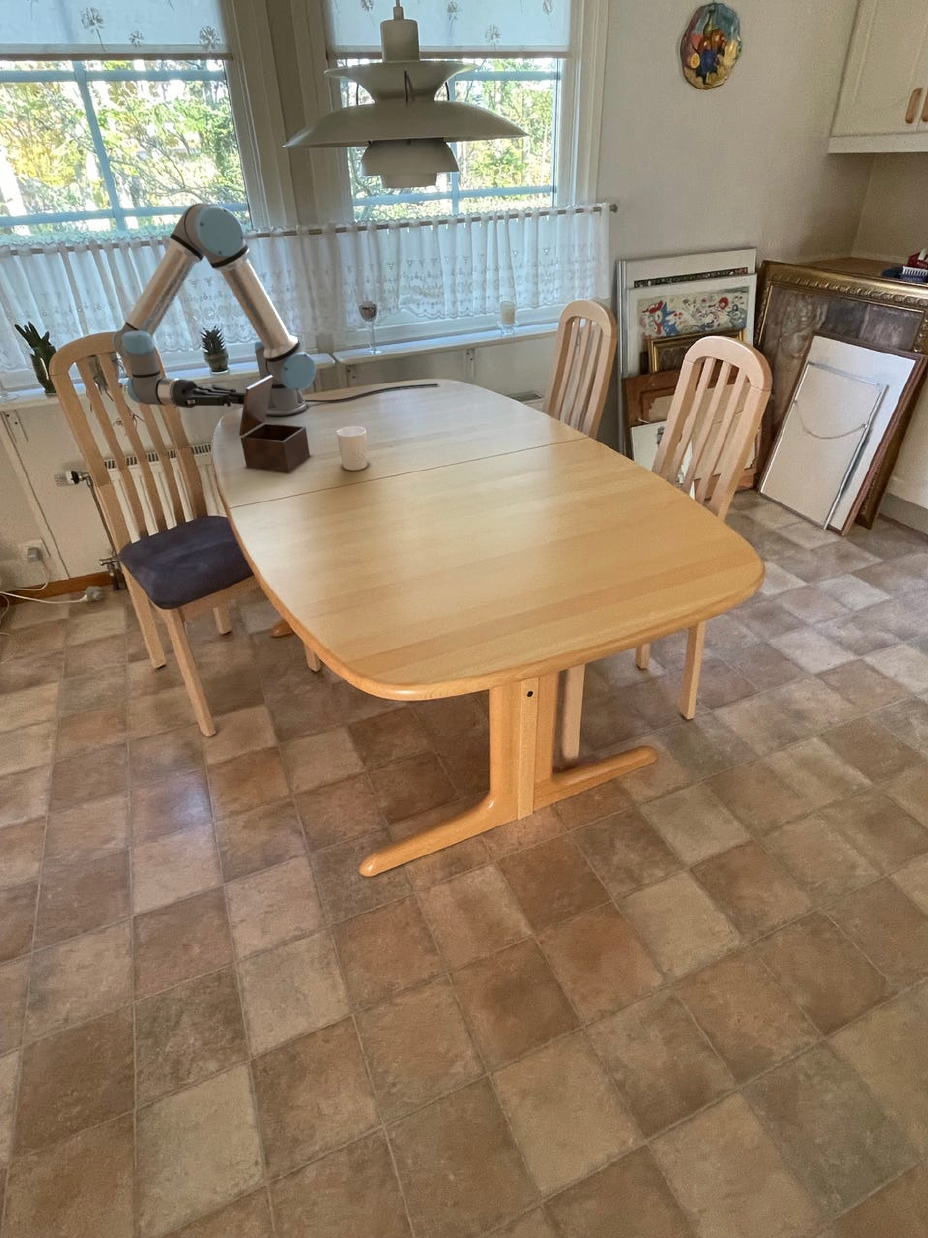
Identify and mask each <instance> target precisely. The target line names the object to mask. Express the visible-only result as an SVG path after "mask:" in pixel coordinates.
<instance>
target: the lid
mask: <svg viewBox="0 0 928 1238" xmlns="http://www.w3.org/2000/svg"><path fill="white" fill-rule="evenodd" d="M272 380H273V376H272V375H270V376H268V377H266V378H264V379H262V380H261V379H260V380H258V381H257V382H255V383H253V384H251V385H248V386H247V387H246V388H245V392H244V393H245V399H244V405H242V411H241V417H240V418H241V419H240V426H239V432H238V436H239V437H240V438H241V437H243V436H244V435H246V434H247V433H249V432H251V431H252V430H254V429H255V428H257V427H259V426H260V425H262V424H263V423H266V419H267V415H266V414H267V408H268V402H269V397H270V391H271V386H272Z"/></svg>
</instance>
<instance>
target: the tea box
mask: <svg viewBox="0 0 928 1238" xmlns="http://www.w3.org/2000/svg"><path fill="white" fill-rule="evenodd" d="M240 442H241V443H240V444H241V447H242V452H243V457H244V462H245V466H246V468H247V469H255V470H265V471H271V472H281V473H290V472H292V471H293V470H294V469H295V468H297V467H298V466H299V465H301V464H302V463H303V462H305V461H306V460H307V459H309V458H310V457H311V453H310V446H309V439H308V433H307V426H300V425H299V426H298V425H290V424H289V425H288V424H279V423H270V422H269V423H267V422H264V423H263V424H261V425H259V426H258V427H256V428H254V429H253V430H251V431H250V432H248V433H246V434H245V435H243V436H242V437H241V436H240Z"/></svg>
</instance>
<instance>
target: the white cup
mask: <svg viewBox="0 0 928 1238" xmlns="http://www.w3.org/2000/svg"><path fill="white" fill-rule="evenodd" d="M336 435H337V436H336V437H337V442H338V448H339V454H340V458H341V461H342V467H343V469H345V470H347V471H360V470H364V469H365V468H367V467H368V443H367V441H368V440H367V430H366V429H365V428H364V427H361V426H355V425H354V426H346V427H342V428H339V429H338V430H337V431H336Z"/></svg>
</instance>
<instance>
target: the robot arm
mask: <svg viewBox="0 0 928 1238" xmlns="http://www.w3.org/2000/svg"><path fill="white" fill-rule="evenodd" d="M168 241H169V246H168V248H167V250H166V252H165V254H164V255H163V256H162V258H161V260H160V262H159V264H158V266H157V267H156V268H155V271H154V273H153V274H152V276H151V278H150V280H149V281H148V283H147V285H146V286H145V288H144V289H143V291H142V293H141V295H140V297H139V299H138V301H137V302H136V303H135V306H134V307H133V309H132V310H131V312H130V314H129V315H128V318H127V319H126V321H125V323H124V325H122V328H121V329H119V330H117V331H116V332H114V334H113V336H112V346H113V348H114V349H115V351H116V352H117V354H118V355H119V356H120V357H122V358H123V359H125V361H127V363H128V366H129V369H130V373H131V377H129V378H128V380H127V383H126V385H127V388H126V391H127V394H128V397H129V398H130V399H131V400H132V401H133V402H135V403H138V404H145V405H148V406H149V405H151V406H152V405H153V406H165V407H172V408H173V409H177V408H186V409H193V408H195V407H224V406H225V405H226V406H227V408H229V407H232V404H233V405H242V406H243V405H244V399H245V392H237V389H235V388H231V387H225V386H220V385H217V384H213V383H212V384H211V386H210V387H206V386H204V385H199V386H198V384H196V383H195V382H194V381H193V380H191V379H182V378H181V379H180V378H173V377H172V378H171V377H170V378H168V377H162V373H161V368H160V365H159V360H158V357H157V353H156V350H155V343H154V342H153V336H154V334H155V333H156V332H157V330H158V328H159V326H160V325H161V323H162V321H163V319H164V318H165V316H166V314H167V313H168V311H169V309H170V307H171V306H172V304H173V302H174V301H175V299H176V297H177V296H178V294H179V292H180V291H181V289H182V287H183V286H184V284H185V283H186V280H187V278H188V277H189V275H190V274H191V272H192V270H193V268H194V267H195V265H196V264H200V263H201V262H203V259H204V258H206V260H207V262H208V264H209V265H210V266H211V268H212V269H213V270H216V271H218V272H220V273H221V275H222V277H223V278H224V280H225V282H226V284H227V285H228V287H229V289H230V290H231V292H232V294H233V295H234V297H235V299H236V300H237V302H238V305H239V306H240V308H241V309H242V311H243V312H244V314H245V316H246V318H247V320H248V321H249V323H250V325H251V326H252V329H253V330H254V332H255V333H256V335H257V337H258V338H259V339H258V340H256V341H255V343H254V353H255V356H256V362H257V367H258V373H259V378H260V380H262V379H264V378H266V377H268V376H270V375H272V376H273V380H272V386H271V391H270V397H269V402H268V408H267V414H266V416H270V417H271V416H272V417H286V416H293V415H296V414H299V413H301V412H304V410H306V409H307V403H332V402H333V403H334V402H343V401H348V400H352V399H357V398H360V397H362V396H367V395H369V394H375V393H378V392H384V391H390V390H397V389H408V388H417V387H431V386H432V387H433V386H438V385H439V384H438V382H436V383H423V384H422V383H420V384H408V385H399V386H390V387H384V388H381V389H374V390H370V391H367V392H363V393H362V392H361V393H359V394H358V393H357V394H355V395H352V396H349V397H342V398H336V399H335V398H334V399H305V397H304V395H303V392H302V391H303V390H305V389H307V388H309V387H310V386H311V385H312V384H313V382H314V380H315V379H316V375H317V365H316V362H315V360H314V358H313V357H312V356H311V355H310V354H309V353H307V352H305V349H304V348H303V346H302V345H301V342H300V341H299V338H298V337H297V336H295V335H293V334H290V333H289V331H288V329H287V327H286V325H285V323H284V321H283V320H282V317H281V316H280V314H279V312H278V310H277V309H276V306H275V305H274V304H273V301H272V299H271V298H270V296H269V294H268V292H267V290H266V287H264V285H263V283H262V282H261V280H260V278H259V277H260V276H259V275H258V273H257V272H256V270H255V268H254V266H253V265H252V262H251V261H250V259H249V257H248V256H249V251H250V247H249V246H248V244H247V242H246V240H245V232H244V228H243V225H242V224H241V221H240V220H239V218H238V217H237V216H236V215H235V213H233V212H232V211H231V210H229V209H227V208H226V207H224V206H222V205H219V204H208V203H204V202H203V203H202V202H199V203H194V204H192V205H190V206H189V207H188V208H186V209H185V210H184V212H183V213H182V214H181V216H180V218H179V220H178V221H177V224H176V225H175V227H174V229H173V231H172V233H171V234H170V235H169V238H168Z"/></svg>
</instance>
